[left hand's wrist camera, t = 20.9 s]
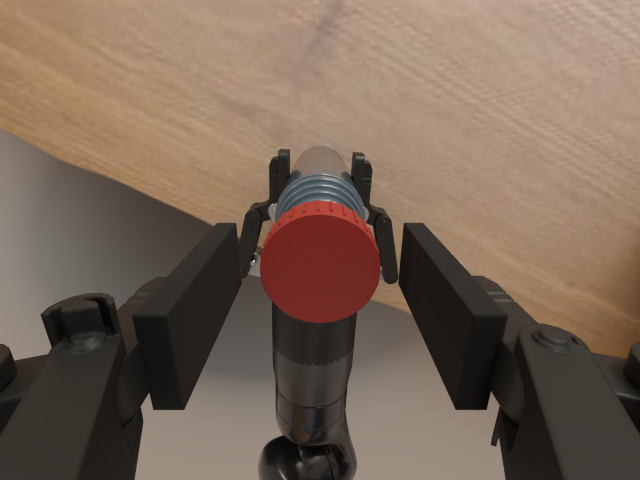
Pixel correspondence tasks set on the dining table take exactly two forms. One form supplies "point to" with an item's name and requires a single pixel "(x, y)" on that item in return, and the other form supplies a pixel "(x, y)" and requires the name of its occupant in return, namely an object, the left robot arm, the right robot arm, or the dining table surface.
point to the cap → (320, 262)
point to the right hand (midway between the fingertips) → (321, 152)
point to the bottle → (319, 182)
